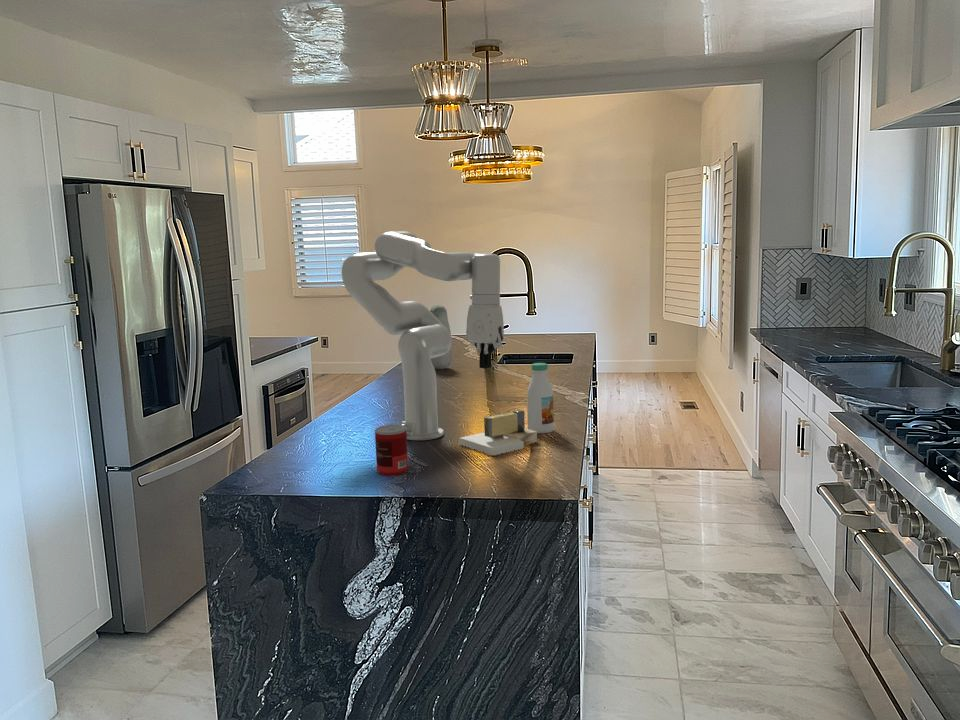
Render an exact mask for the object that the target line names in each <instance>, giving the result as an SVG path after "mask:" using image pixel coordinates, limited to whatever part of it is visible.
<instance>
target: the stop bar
mask: <svg viewBox="0 0 960 720" xmlns="http://www.w3.org/2000/svg"><path fill="white" fill-rule="evenodd" d="M495 415H496V416H493V415H490V416H491V417H490V416H486V417H483V420H484V421H483V422H484V423H483V424H484V430H483V431H484V432H485V436H487V437H492V436H497V435H502V434H506V433H511V432H523V431H525V429H526V427H525V426H526V424H525V423H526V421H525V418H526V417H525V410H522V409H521V410H519V409H518V410H513V411H512V412H506V413H502V414H495Z"/></svg>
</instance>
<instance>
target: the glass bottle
mask: <svg viewBox="0 0 960 720" xmlns="http://www.w3.org/2000/svg"><path fill="white" fill-rule="evenodd" d="M429 310H430V312H431V313H432V314H433V315H434V316H435V317H436V318H437V319H438V320H439V321H440V322H441V323H442V324H443V325H444V326H445V327H446V328H447V330H448V331H449V333H450V335H451V336H452V332H451V329H450V328H451V327H450V323H449V318H448V312H447V308H446V307H445V306H443V305H442V304H437V305H433V306H432V307H431V308H430V309H429ZM431 362H432V364H433V366H434V369H435V370H445V369H447V368H448V367H449V366H450V364H451V362H452V347H451V348H450V350H449V351H448V352H447V353H446V354H444V355H442V356H439V357H435V358H431Z"/></svg>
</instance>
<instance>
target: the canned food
mask: <svg viewBox="0 0 960 720" xmlns="http://www.w3.org/2000/svg"><path fill="white" fill-rule="evenodd" d="M374 438H375V439H374V441H375V442H374V443H375V456H376V457H375V461H376V470H377V473H378V474H379V475H382V476H387V477H392V476H393V477H394V476H400V475H403V474H405V473H407V471H408V467H409V466H408V465H409V462H408V440H407V434H406V427H405V426H402V425H401V424H386V425H381V426H378V427H376V428H375V429H374Z"/></svg>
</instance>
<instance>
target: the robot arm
mask: <svg viewBox="0 0 960 720" xmlns="http://www.w3.org/2000/svg"><path fill="white" fill-rule="evenodd" d="M373 246H374V251H372V252H371V251H370V252H367V251H366V252H358V253H355V254H351V255H350V256H348V257H347V258H345V259H344V261H343V263H342V265H341V266H342V267H341V279H342V282H343V285H344V287H345V289H346V291H347V292H348V294H349V295H350V296H351V297H352V298H353V300H355V301H356V302H357V303H358V304H359V305H360V306H361V307H362V308H363V309H364V310H365V311H366V312H367V313H368V314H369V315H370V317H371V318H372V319H374V321H375V322H376V323H377V324H378V325H379V326H380V327H381V328H382V329H383V330H384V331H385V332H386V333H387V334H389V335H391V336H400V337H399V339H398V342H397V343H398V344H397V347H398V349H397V350H398V354H399V358H400V362H401V363H400V364H401V368H402V380H403V382H402V383H403V399H404V400H403V402H404V420H403V421H401V424H400V425H402V426H405V427H406V434H407V441H408V440H409V441H428V440H436V439H438V438H441V437H442V436H444V433H445V432H444V429H443V428H441V427H439V419H438V417H439V415H438V414H439V413H438V412H439V411H438V392H437V390H438V389H437V373H436V369H435V368H434V366H433V364H432V362H431V358H435V357H439V356H442V355H444V354H446V353H447V352H448V351H449V350H450V348H451V349H452V345H453V339H452V334H451V335H450V333H449V331H448V330H447V328H446V327H445V326H444V325H443V324H442V323H441V322H440V321H439V320H438V319H437V318H436V317H435V316H434V315H433V314H432V313H431V312H430V310H431V309H428V307H426V306H425V304H423V303H421V302H419V301H415V300H408V301H399V300H397V299H396V298H395V297H394V296H392V294H391V293H390V292H389V291H388V290H387V289H386V288H385V287H383V286H381V285H380V284H378V283H376V282H375V281H384V280H388V279H390V278H392V277H394V276H395V275H397V274H398V273H399V272H401V271H402V270H404V268H405V267H408V268H410V269H414V270H416V271H417V272H418V273H420V274H421V275H423V276H426V277H427V278H428V277H429V278H432V279H436V280H439V281H443V282H444V281H445V282H457V281H466V280H467V281H468V280H471V294H470V296H469V298H470V300H471V304H469V305H468V306H469V307H468V311H467V317H466V327H465V328H466V331H465V332H466V333H465V334H466V336H465V337H466V339H467V341H469V345H473V346H474V347H475V348H476V351H477V353H478V354H479V355H478V356H479V359H478V360H479V366H478V367H479V368H480V369H490V368H492V364H493V363H492V361H493V358H492V355H493V353H495V350H496V349H499V348H500V349H501V348H502V347H503V341H504V336H505V333H504V332H505V331H504V328H505V326H504V316H503V315H504V314H503V309H502V305H501V304H500V303H501V301H500V299H501V258H500V256H499V255H498V254H495V253H476V252H471V251H459V252H444V251H442V250H441V251H440V250H436V249H433V248H432V246H431V244H430V243H429V241H428V240H426V239H422V238H418V236H417V235H416V234H415V233H412V232H410V231H386V232H383V233H381V234H380V235H379V236H377V237H376V240H375V242H374V245H373Z"/></svg>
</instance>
